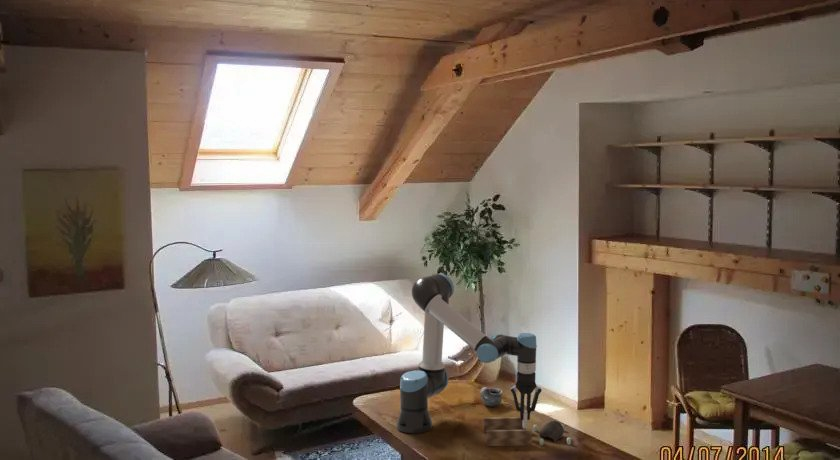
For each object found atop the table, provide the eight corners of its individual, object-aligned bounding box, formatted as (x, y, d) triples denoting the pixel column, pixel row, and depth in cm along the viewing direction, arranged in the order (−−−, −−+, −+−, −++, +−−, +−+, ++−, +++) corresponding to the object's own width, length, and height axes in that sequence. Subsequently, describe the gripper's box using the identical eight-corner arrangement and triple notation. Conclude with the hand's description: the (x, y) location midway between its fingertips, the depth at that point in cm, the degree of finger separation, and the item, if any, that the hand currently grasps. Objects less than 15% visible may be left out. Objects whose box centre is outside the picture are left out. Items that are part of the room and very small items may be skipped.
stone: (541, 449, 306) (556, 437, 300) (532, 431, 311) (547, 418, 305) (557, 447, 312) (572, 435, 307) (548, 428, 317) (563, 416, 311)
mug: (505, 404, 351) (505, 383, 350) (493, 412, 340) (493, 390, 339) (487, 400, 356) (487, 380, 355) (474, 408, 345) (474, 387, 344)
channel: (486, 446, 301) (486, 431, 300) (483, 431, 317) (483, 417, 316) (531, 445, 301) (531, 430, 300) (525, 430, 317) (525, 416, 316)
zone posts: (539, 445, 301) (539, 439, 301) (533, 430, 317) (533, 424, 317) (571, 444, 301) (571, 439, 301) (563, 429, 317) (563, 424, 317)
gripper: (511, 374, 302) (510, 430, 305) (543, 374, 303) (542, 430, 305) (509, 368, 310) (507, 423, 313) (540, 368, 310) (539, 423, 313)
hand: (524, 427), depth 309 cm, fingers closed
